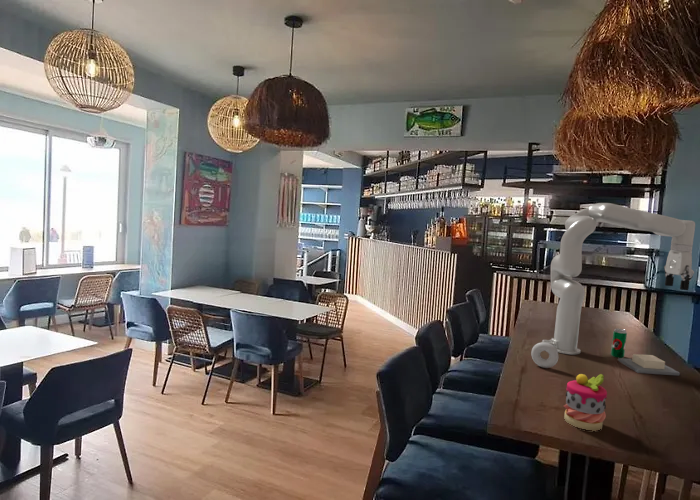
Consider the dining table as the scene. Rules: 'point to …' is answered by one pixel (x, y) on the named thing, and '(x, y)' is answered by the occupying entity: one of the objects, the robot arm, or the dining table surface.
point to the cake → (585, 402)
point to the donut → (548, 348)
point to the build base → (647, 370)
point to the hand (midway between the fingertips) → (676, 287)
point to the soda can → (618, 343)
